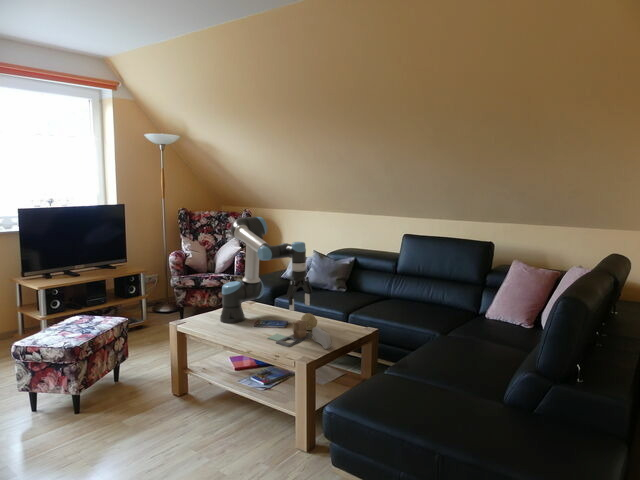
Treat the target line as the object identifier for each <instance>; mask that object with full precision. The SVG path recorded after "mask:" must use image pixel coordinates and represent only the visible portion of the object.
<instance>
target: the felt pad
mask: <svg viewBox="0 0 640 480" xmlns="http://www.w3.org/2000/svg"><path fill="white" fill-rule="evenodd" d="M288 336H289V335H288ZM288 336H287V335H284V334H279V333H275V334H273V335H270V336H268V337H266V338H267V339H268V340H271V341H275V342H276V341H279V340H281V339H283V338H286V337H288Z"/></svg>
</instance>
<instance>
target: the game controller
mask: <svg viewBox="0 0 640 480" xmlns="http://www.w3.org/2000/svg"><path fill="white" fill-rule="evenodd" d="M311 333H312V340H313V342H315V343H318V344H320V345H322V348H323V349H324V348H325V349H324V350H328V349H330V348H331V346H332V340H331V337H330V334H329V333H328V332H326V331H325V330H323V329H322V328H320V327H319V326H316V327H314V328H313V329H312V330H311Z"/></svg>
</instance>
